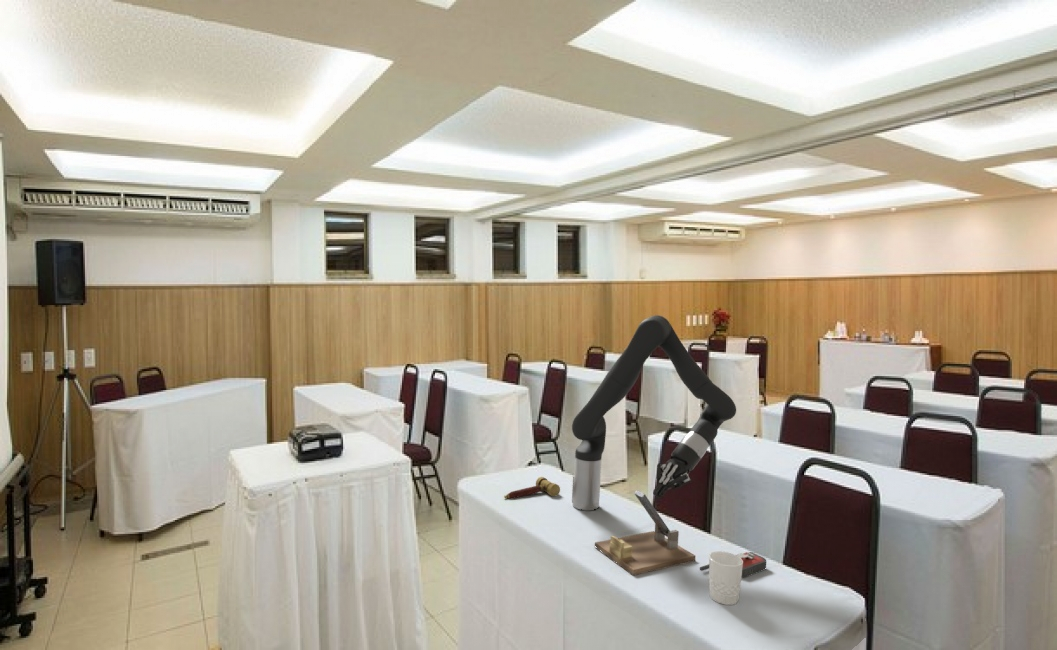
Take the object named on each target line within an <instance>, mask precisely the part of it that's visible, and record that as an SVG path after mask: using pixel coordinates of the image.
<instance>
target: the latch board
mask: <svg viewBox="0 0 1057 650" xmlns="http://www.w3.org/2000/svg"><path fill="white" fill-rule="evenodd" d="M660 531H661V530H659V528H658V527H657V525H656V524H655V523H654V530H653V531H648V532H642V533H637V534H631V535H627V536H622V537H621V536H620V537H616V536H614V535H611V536H610V539H607V540H606V539H605V540H600V541H597V542H596V541H595V542H594V547H595V546H596V547H597V548H598V549H599V550H601V551H602V552H603V553H604V554H606V555H607V556H609V557H610V558H611V559H613V560H614V561H615V562H617V563H618V564H619V565H618V564H617V563H616V564H617V565H618V566H620V567H621V566H622V567H623V568H622V567H621V568H622V569H623V570H625V569H626V570H627V572H628V573H629V572H630V573H631V574H630V573H629V574H630V575H632V574H633V575H632V576H636V575H635V574H637V575H641V574H645V573H649V572H648V571H650V572H653V570H654V571H657V570H661V569H665V568H670V567H674V566H675V567H676V566H679V565H683V564H687V563H692V562H696V554H694V553H692V552H691V551H688V550H687V549H685V548H683V547H681V546H680V545H679V535H680V534H679V533H680V532H679V530H677V529H674V530H670V531H668V537H666V536H665V535H663V534H662V533H661V532H660ZM598 549H597V550H598ZM599 550H598V551H599ZM602 552H601V553H602ZM603 553H602V554H603ZM604 554H603V555H604ZM606 555H605V556H606ZM607 556H606V557H607ZM609 557H608V558H609ZM610 558H609V559H610ZM611 559H610V560H611ZM613 560H612V561H613ZM614 561H613V562H614ZM615 562H614V563H615ZM626 570H625V571H626ZM640 573H641V574H640Z"/></svg>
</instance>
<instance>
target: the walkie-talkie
mask: <svg viewBox="0 0 1057 650" xmlns="http://www.w3.org/2000/svg"><path fill="white" fill-rule="evenodd" d="M735 555H736V556H738V557H740V558H741V559H742V560H743V567H742V577H741V579H743V578H746V577H749V575H750V576H752V575H755V574H757V573H756V572H758V573H759V571H760V572H762V571H761V570H763V569H765V568H766V569H767V558H765V557H763V556H761V555H759V554H757V553H755V552H752V551H750V552H749V551H748V552H744V553H742V552H741V553H738V554H735ZM766 569H765V570H766ZM706 570H709V563H708V564H706V565H705V564H704V565H702V566H700V567H699V571H701V572H703V571H706ZM763 571H764V570H763ZM751 574H752V575H751Z"/></svg>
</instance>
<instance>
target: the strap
mask: <svg viewBox="0 0 1057 650" xmlns="http://www.w3.org/2000/svg"><path fill="white" fill-rule="evenodd" d="M633 494H634V495H635V497H636V498H637V499H638V501H639V502H640V504H641V505H642V507H643V508H644V509H645V511H646V513H647V514H648V515H649V517H650V518H651V519H652V521H653V522H654V525H655V524H656V525H657V527H658V528H659V530H661V531H660V532H661V533H662V534H663V535H665V537H666V538H668V531H671V530H670V529H669V527H668V525H667V524H666V522H665V521H664V520H663V519H662V517H661V515H660V514H659V512H657V510H656V508H655V507H654V506H653V504H652V503H651V501H650V500H649V499H648V497H647V496H646V494H645V493H643V492H641V491H639V490H637V489H636V490H635V492H633Z"/></svg>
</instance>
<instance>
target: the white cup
mask: <svg viewBox="0 0 1057 650" xmlns="http://www.w3.org/2000/svg"><path fill="white" fill-rule="evenodd" d="M736 555H737V554H734V553H732V552H727V551H714V552H711V553H710V554H709V556H708V558H709V559H708V560H709V561H708V564H709V569H708V580H709V581H708V582H709V583H708V585H709V597H710V598H711V600H713V601H715V602H716V603H718V604H721V605H727V606H732V605H737V603H738V602H739V599H740V598H739V596H740V590H741V583H742V578H741V577H742V567H743V560H742V559H741V558H740V557H738V556H736Z"/></svg>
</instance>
